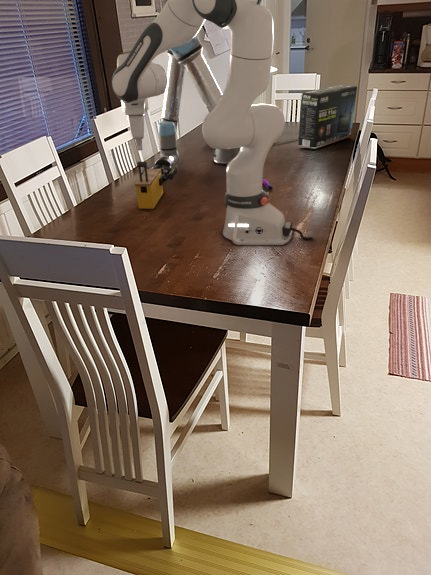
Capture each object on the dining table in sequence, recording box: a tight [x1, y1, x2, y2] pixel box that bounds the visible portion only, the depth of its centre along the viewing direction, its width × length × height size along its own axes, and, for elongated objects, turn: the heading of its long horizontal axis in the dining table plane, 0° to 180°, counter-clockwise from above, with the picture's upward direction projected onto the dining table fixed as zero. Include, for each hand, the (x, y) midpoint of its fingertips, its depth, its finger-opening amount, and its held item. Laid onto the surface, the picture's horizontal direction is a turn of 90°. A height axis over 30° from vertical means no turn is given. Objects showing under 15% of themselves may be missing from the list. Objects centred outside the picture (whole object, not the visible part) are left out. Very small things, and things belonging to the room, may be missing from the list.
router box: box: [297, 84, 358, 151], centre depth 238 cm, size 36×11×27 cm, turn 134°
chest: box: [135, 172, 164, 210], centre depth 177 cm, size 17×6×9 cm, turn 173°
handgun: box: [262, 177, 274, 192], centre depth 191 cm, size 21×8×2 cm, turn 11°
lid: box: [134, 161, 161, 187], centre depth 172 cm, size 18×6×8 cm, turn 173°
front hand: (139, 146), depth 162 cm, fingers open, 8 cm apart
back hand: (152, 182), depth 179 cm, fingers closed on chest, 6 cm apart
